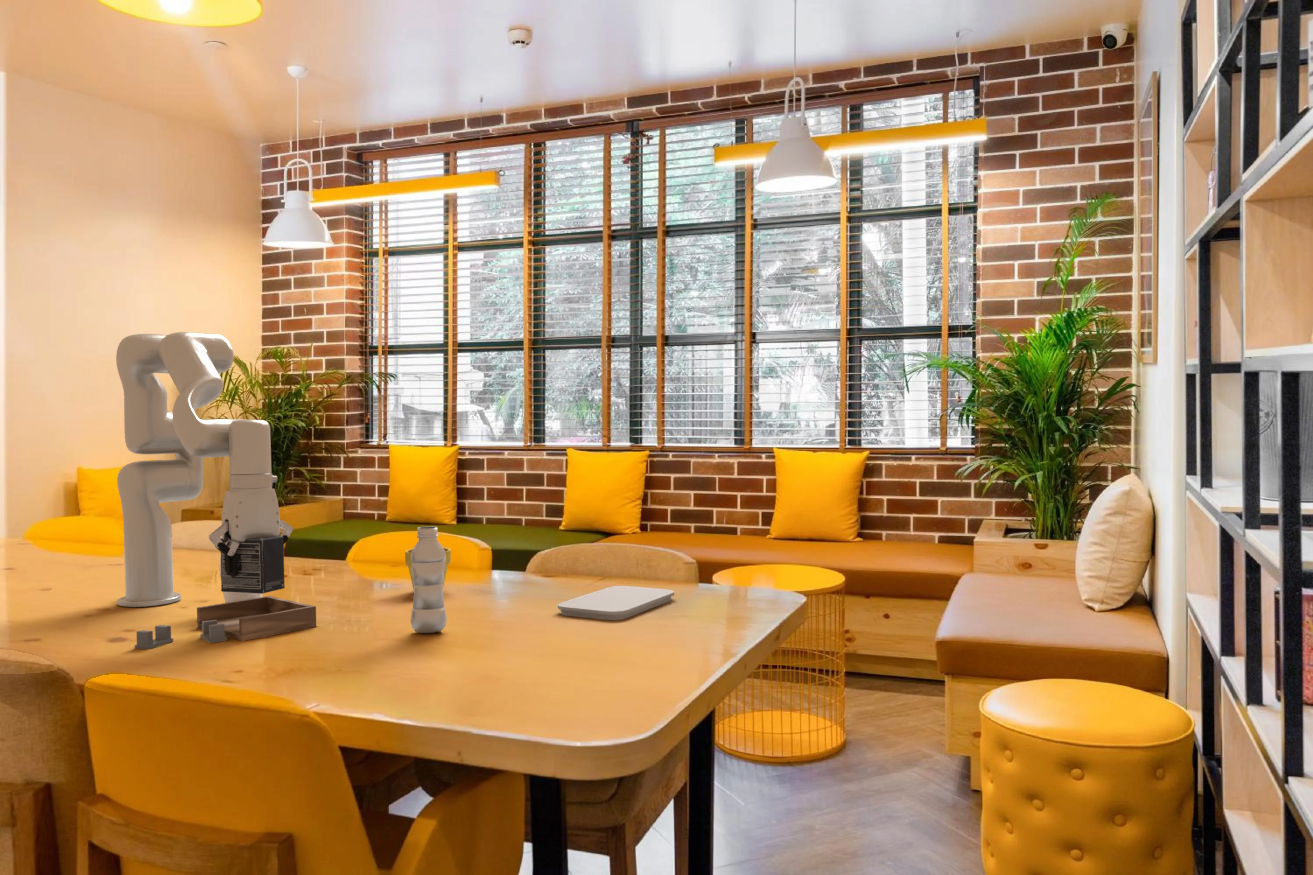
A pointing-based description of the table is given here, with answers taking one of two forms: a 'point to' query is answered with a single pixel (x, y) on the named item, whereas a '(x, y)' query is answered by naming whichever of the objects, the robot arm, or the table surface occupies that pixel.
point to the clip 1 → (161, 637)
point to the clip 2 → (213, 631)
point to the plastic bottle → (428, 582)
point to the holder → (259, 617)
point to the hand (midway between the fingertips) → (253, 572)
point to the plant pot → (408, 563)
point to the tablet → (615, 602)
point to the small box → (256, 566)
